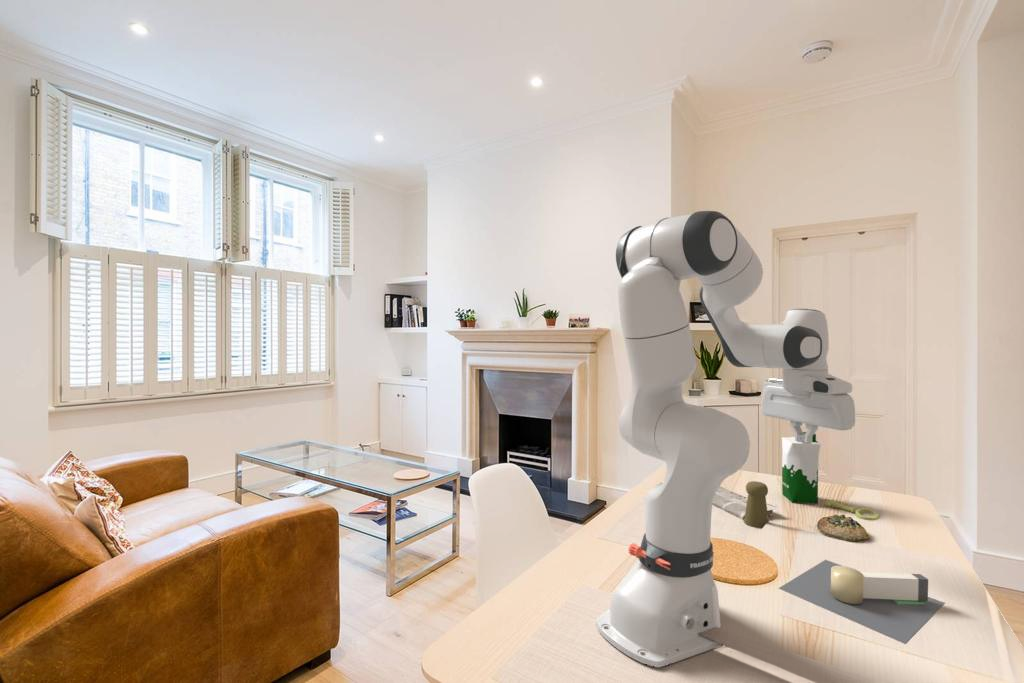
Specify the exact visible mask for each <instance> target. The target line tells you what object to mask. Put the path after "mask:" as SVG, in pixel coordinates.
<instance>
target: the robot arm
mask: <svg viewBox="0 0 1024 683" xmlns="http://www.w3.org/2000/svg"><path fill="white" fill-rule="evenodd" d="M615 261H616V262H615V263H616V266H617V270H618V272H619V275H620V277H621V279H620V281H619V283H618V290H617V291H618V293H617V294H618V309H619V319H620V325H621V326H620V327H621V330H622V335H623V339H624V344H625V348H626V353H627V359H628V363H629V368H630V373H631V374H630V376H631V393H630V398H629V400H628V402H627V403H626V404H625V405H624V407H623V409H622V410H621V412H620V414H619V418H618V419H619V420H618V430H619V433H620V435H621V438H622V439H623V441H624V442H626V443H627V444H628V445H630V446H631V447H632V448H633V449H635V450H637V451H638V452H640V453H641V454H643V455H647V456H649V457H652V458H655V459H657V460H662V461H664V462H665V464H666V472H665V475H664V479H663V482H660V483H658V484H656V485H654V486H653V487H652V488H650V489H649V490H648V492H647V493H646V496H645V533H644V534H643V536H642V540H641V543H640V546H639V545H638V544H636V543H634V542H633V543H631V544H630V545H629V547H628V553H629V554H630V555H631V556H634V557H635V558H637V561H636V562H635V563H634V564H633V566H632V567H631V568H630V569H629V570H628V572H627V573H626V575H625V576H624V577H623V579H622V580H621V581H620V582H619V583H618V585H617V586H616V587H615V588H614V590H613V592H612V595H611V602H610V608H608V609H607V610H605V611H604V612H603V613H602V614H600V615H599V616H598V617H597V618H596V623H595V625H596V627H597V630H598V632H599V633H600V635H601V636H602V637H603V638H604V639H605V640H606V641H607V642H609V643H610V645H612V647H615V648H616V649H617V650H619V651H620V652H621V653H623V654H624V655H626V656H628V657H630V658H631V659H633V660H635V661H637V662H639V663H642V664H643V665H644V664H645V665H646V664H647V666H650V667H653V666H654V668H663V667H665V665H666V666H668V664H669V665H671V664H674V663H677V662H681V661H682V660H685V659H689V658H691V657H694V656H697V655H699V654H702V653H705V652H707V651H710V650H714V649H716V648H718V647H721V646H724V644H723V643H721V642H719V641H716V640H714V639H712V638H709V637H706V636H703V635H702V634H700V633H703V632H706V631H709V630H711V629H713V628H717V629H718V628H721V625H722V624H721V614H720V604H719V602H720V601H719V594H718V592H719V591H718V588H717V585H716V583H715V580H714V576H713V572H712V568H713V566H714V555H715V554H714V547H713V546H714V545H713V543H712V541H711V529H712V528H711V527H712V526H711V524H712V509H713V505H712V504H713V499H714V496H715V493H716V491H717V489H718V487H719V486H720V485H721V484H722V483H723V482H724V481H725V479H727V478H729V477H730V476H733V475H734V474H736V473H737V472H738V471H740V469H742V467H743V466H744V465H745V463H746V462H747V460H748V457H749V454H750V450H751V449H750V447H751V445H750V444H751V443H750V442H751V441H750V437H749V432H748V431H747V428H746V427H745V425H744V423H743V422H742V421H740V420H739V419H737V418H736V417H734V416H732V415H729V414H727V413H725V412H723V411H720V410H718V409H715V408H711V407H705V406H701V405H695V404H690V403H686V402H685V400H684V398H683V383H685V382H686V381H687V380H689V379H690V378H691V376H693V374H694V372H695V371H696V369H697V364H698V361H697V356H696V350H695V347H694V341H693V337H692V336H693V335H692V331H691V326H690V322H689V318H688V317H689V316H688V313H687V309H686V306H685V303H684V300H683V296H682V294H681V291H680V286H681V282H682V281H683V280H688V279H692V278H696V280H698V282H699V283H700V285H701V287H700V289H699V301H700V303H701V306H702V308H703V311H704V312H705V314H706V317H707V318H708V321H709V322H710V324H711V325H712V328H713V329H714V331H715V333H716V335H717V336H718V339H719V341H720V344H721V348H722V351H723V354H724V356H725V358H726V360H727V361H729V363H730V364H731V365H733V366H734V367H737V368H762V369H763V368H764V369H778V370H779V369H781V370H782V371H781V374H782V378H775V377H769V378H768V379H766V380H765V381H764V382H763V388H762V389H763V391H762V395H761V403H760V412H761V413H762V415H763V416H765V417H771V418H776V419H781V420H786V421H790V427H791V429H792V431H793V433H794V437H795V441H798V442H802V443H806V444H811V443H812V436H813V435H814V434H816V432H817V431H818V429H819V427H821V428H826V429H827V428H828V429H832V430H835V431H836V430H837V431H848V430H852V429H853V427H855V425H856V406H855V401H854V400H855V399H854V398H853V396H852V395H850V393H852V391H853V384H852V383H850V382H849V381H847V380H843V379H841V378H839V377H836V376H834V375H832V374H829V366H828V363H827V355H828V353H829V350H830V349H829V346H830V344H829V337H830V336H829V327H828V320H827V317H826V314H825V313H824V312H822V311H820V310H817V309H812V308H811V309H810V308H793V309H789V310H788V311H787V312H786V315H785V319H784V320H783V321H782V322H778V323H777V324H775V323H774V324H756V323H754V324H753V323H748V322H744V321H742V320H741V318H740V317H739V315H738V313H737V312H738V311H737V310H736V308H735V307H736V306H739V305H741V304H742V303H745V301H747V300H748V299H749V298H751V297H752V296H753V295H754V293H756V291H757V290H758V288H760V285H761V283H762V281H763V280H762V279H763V274H764V268H763V265H762V263H761V260H760V258H759V256H758V255H757V253H756V251H755V250H754V249H753V247H752V246H751V245H750V243H749V241H748V240H747V239H746V238H745V236H744V235H743V234H742V232H740V231H739V230H738V228H737V227H736V226H735V225H734V223H733V222H732V220H730V219H729V218H728V216H726V215H725V214H724V213H722V212H719V211H715V210H698V211H696V212H693V213H691V214H682V215H677V216H672V217H663V218H660V219H657V220H655V221H652V222H651V221H650V222H649V223H647V224H644V225H639V226H636V227H634V228H632V229H629V230H628V231H627V232H625V233H624V234H622V236H621V237H620V238H619V239H618V242H617V245H616V250H615ZM803 424H805V429H807V430H806V431H805V432H806V434H804V433H803V432H804V431H803V430H802V428H801V426H803ZM670 663H671V664H670ZM662 666H663V667H662Z"/></svg>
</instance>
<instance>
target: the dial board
mask: <svg viewBox="0 0 1024 683" xmlns="http://www.w3.org/2000/svg"><path fill="white" fill-rule="evenodd" d="M833 566H843V565H842V564H839V563H836V562H833V561H830V560H827V559H824V560H822V561H821V562H819V563H817V564H816V565H814V566H812V567H810V568H809V569H807V570H806V571H804V572H803V573H801V574H799V575H798V576H795V578H793V579H792V580H790V581H788V582H786V583H784V584H783V585H782V586H779V587H778V589H779V590H782V591H784V593H785V592H786V593H788V594H790V595H793V596H794V597H795V596H796V597H797V598H799V599H802V600H804V601H806V602H808V603H811V604H813V605H815V606H817V607H821V608H822V609H824V610H827V611H829V612H831V613H834V614H836V615H838V616H841V617H843V618H845V619H847V620H850V621H851V622H854V623H857V624H859V625H861V626H864V627H865V628H868V629H870V630H872V631H875V632H877V633H879V634H882V635H884V636H886V637H889V638H891V639H893V640H895V641H897V642H900V643H902V644H904V645H906V644H907V643H908V642H909V641H910V640H911V639H912V638H913V637H914V635H916V633H918V632H919V631H920V629H922V627H923V626H925V624H927V622H928V621H929V620H930V619H932V617H933V616H934V615H935V614H936V613H937V612H938V611H939V610H940V609H941V608H942V607H943V606H944V605H945V604H946V603H945V602H944V601H941V600H938V599H934V598H933V597H930V596H928V601H915V600H893V599H871V598H863V602H862V603H860V604H850V603H846V602H843V601H840V600H838V599H836V598H835V597H833V596H832V595H831V568H832V567H833ZM854 569H855V570H857V571H859V570H858V569H856V568H854Z"/></svg>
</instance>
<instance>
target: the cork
mask: <svg viewBox="0 0 1024 683" xmlns="http://www.w3.org/2000/svg"><path fill="white" fill-rule="evenodd" d="M745 490H746V493H747V496H748V498H747V505H746V511H745V517H744V519H743V522H744V524H745V525H747V526H749V527H751V528H754V529H763V528H764V527H765V526H766V524H767V523H768V524H770V521H769V515H768V512H767V504H766V502H767V495H768V493H769V489H768V485H767V484H766V483H764V482H761V481H757V480H754V481H753V480H752V481H748V482H747V483H746V485H745Z"/></svg>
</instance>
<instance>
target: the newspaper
mask: <svg viewBox="0 0 1024 683" xmlns="http://www.w3.org/2000/svg"><path fill="white" fill-rule="evenodd" d="M747 498H748V494H747V495H746V494H744V493H740V492H737V491H734V490H732V489H730V488H728V487H725V486H723V485H721V484H720V486H719V487H718V489H717V491H716V493H715V496H714V499H713V504H712V506H714V507H716V508H718V509H719V510H721V511H724V512H725V513H728V514H730V515H732V516H734V517H736V518H738V519H740V520H742V521H744V517H745V511H746V505H747ZM766 504H767V512H768V517H770V516H771V515H772V514H773V510H775V509H777V508H778V507H779V505H776V504H773V503H770V502H768V501H766Z"/></svg>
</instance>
